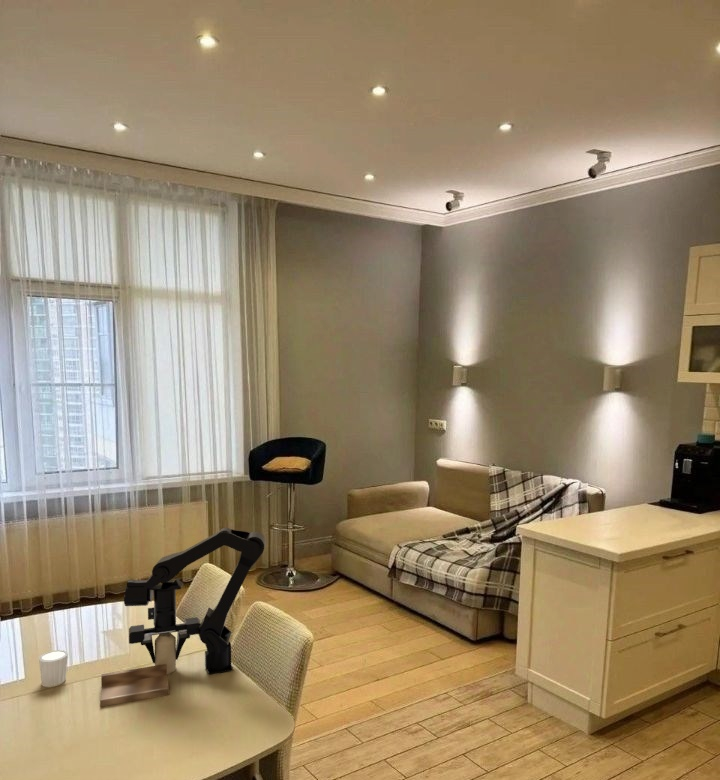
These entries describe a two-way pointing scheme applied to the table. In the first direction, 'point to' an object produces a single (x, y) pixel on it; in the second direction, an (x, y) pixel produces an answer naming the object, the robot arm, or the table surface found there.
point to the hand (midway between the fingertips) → (165, 660)
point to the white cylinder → (53, 667)
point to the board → (134, 685)
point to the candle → (166, 651)
